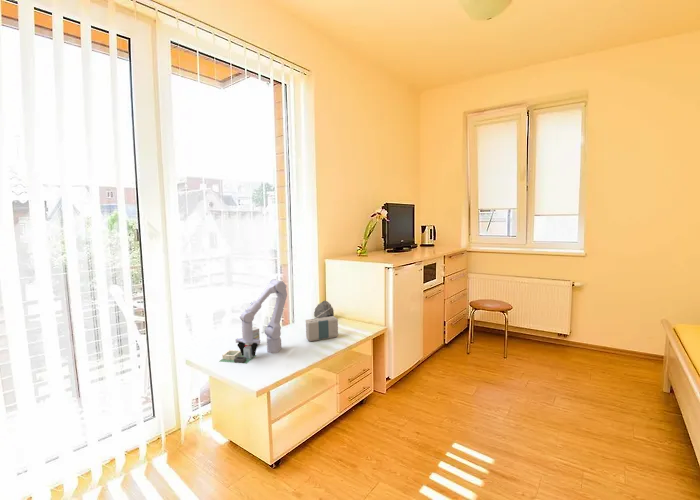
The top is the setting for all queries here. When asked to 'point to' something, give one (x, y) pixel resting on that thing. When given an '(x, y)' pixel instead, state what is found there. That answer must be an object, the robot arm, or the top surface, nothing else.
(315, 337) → the stereo radio cassette player
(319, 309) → the decorative rock
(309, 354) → the top surface
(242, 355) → the board
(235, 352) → the frame
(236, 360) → the block
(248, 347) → the plug
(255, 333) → the ink box
